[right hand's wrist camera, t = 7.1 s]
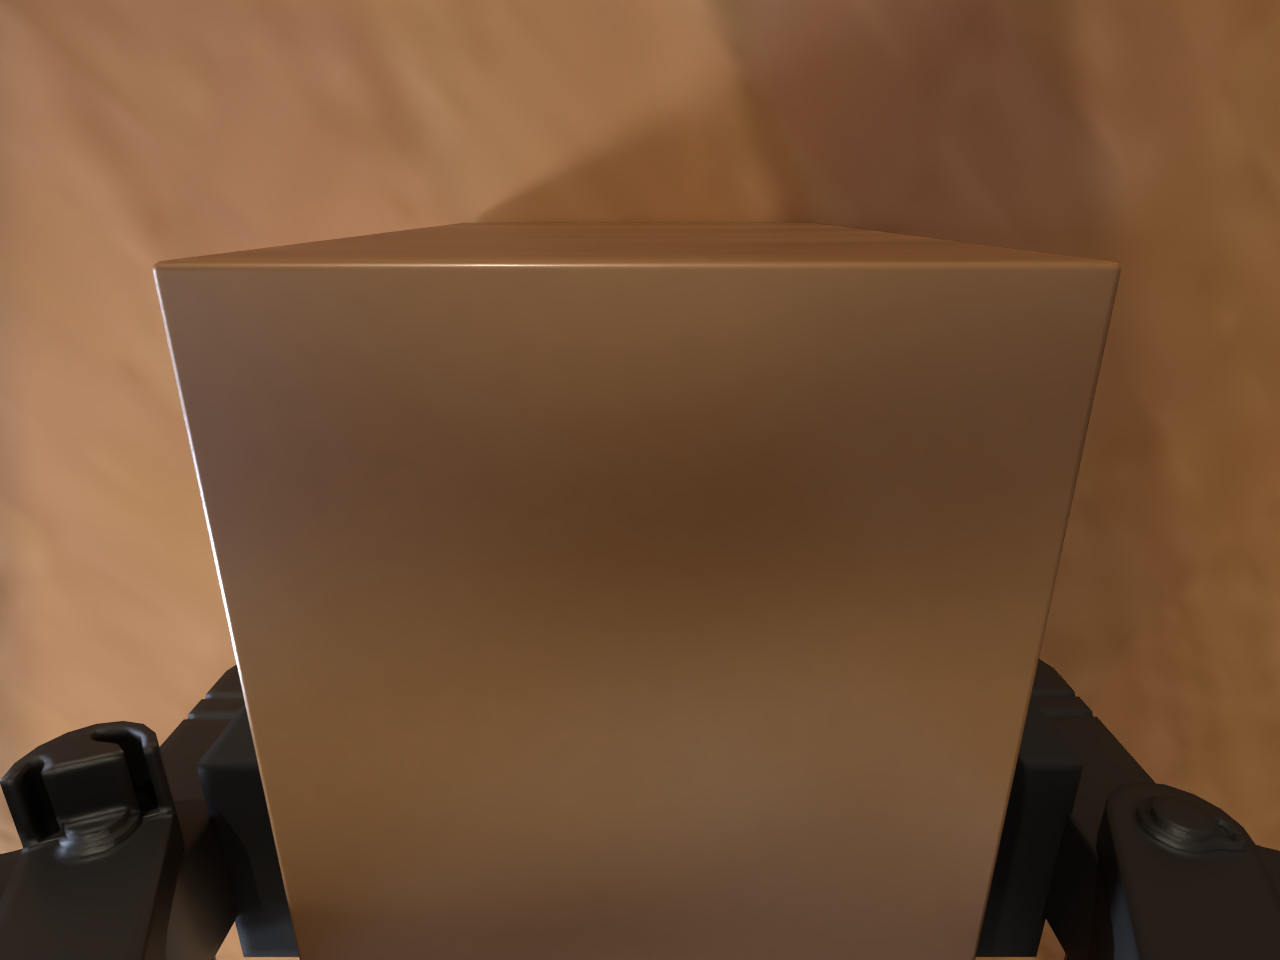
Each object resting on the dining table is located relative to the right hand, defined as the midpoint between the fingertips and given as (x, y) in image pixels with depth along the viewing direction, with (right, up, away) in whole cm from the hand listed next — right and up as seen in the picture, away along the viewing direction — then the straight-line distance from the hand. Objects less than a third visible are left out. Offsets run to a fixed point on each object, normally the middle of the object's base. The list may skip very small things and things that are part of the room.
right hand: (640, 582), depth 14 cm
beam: (0, -32, +13) cm, 34 cm away
